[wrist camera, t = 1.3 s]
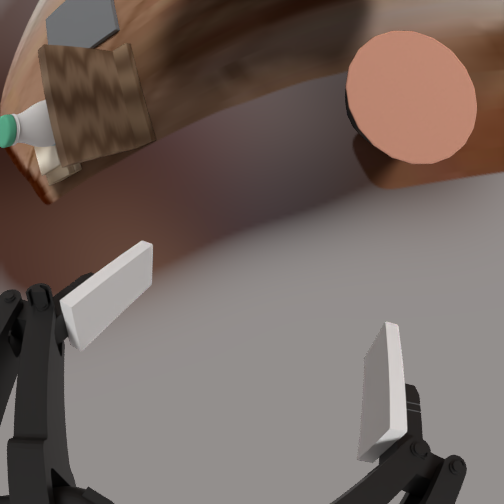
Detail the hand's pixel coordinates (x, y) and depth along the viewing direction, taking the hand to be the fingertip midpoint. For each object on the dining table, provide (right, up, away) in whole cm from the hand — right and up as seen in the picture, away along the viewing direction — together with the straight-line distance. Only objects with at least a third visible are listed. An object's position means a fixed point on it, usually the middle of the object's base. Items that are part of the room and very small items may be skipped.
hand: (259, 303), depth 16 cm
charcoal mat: (-33, +46, +23) cm, 61 cm away
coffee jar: (+17, +21, +18) cm, 32 cm away
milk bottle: (-28, +27, +30) cm, 49 cm away
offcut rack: (-30, +26, +31) cm, 50 cm away
